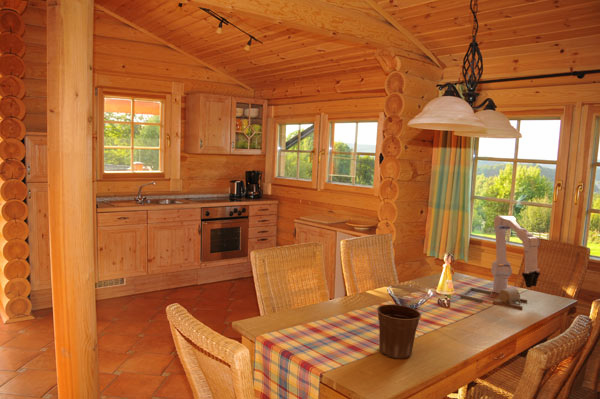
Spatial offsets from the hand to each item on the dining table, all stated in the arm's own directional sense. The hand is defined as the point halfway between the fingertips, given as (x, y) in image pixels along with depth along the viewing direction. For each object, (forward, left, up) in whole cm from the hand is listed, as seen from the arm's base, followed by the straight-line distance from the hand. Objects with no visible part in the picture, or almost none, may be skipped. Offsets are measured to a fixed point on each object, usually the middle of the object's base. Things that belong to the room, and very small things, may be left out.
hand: (531, 286), depth 230 cm
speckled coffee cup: (-1, -9, -12) cm, 15 cm away
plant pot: (+97, -31, -11) cm, 102 cm away
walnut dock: (-1, -9, -11) cm, 15 cm away
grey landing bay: (-1, -26, -11) cm, 29 cm away
